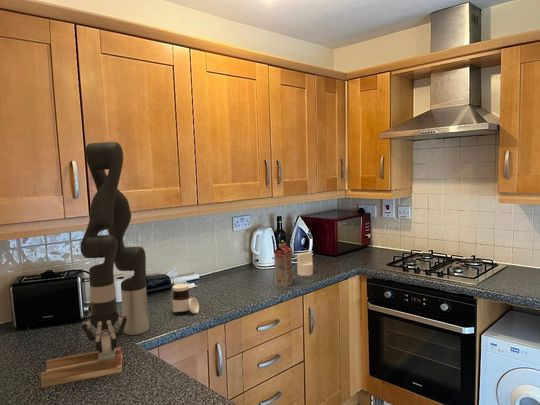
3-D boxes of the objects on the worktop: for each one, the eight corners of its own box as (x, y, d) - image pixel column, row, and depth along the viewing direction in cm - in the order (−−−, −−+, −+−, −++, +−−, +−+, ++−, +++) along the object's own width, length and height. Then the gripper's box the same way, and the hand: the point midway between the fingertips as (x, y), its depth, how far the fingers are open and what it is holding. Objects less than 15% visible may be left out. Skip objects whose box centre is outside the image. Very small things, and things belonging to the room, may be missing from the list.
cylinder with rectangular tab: (306, 270, 232) (306, 251, 231) (316, 274, 225) (315, 253, 224) (294, 273, 228) (293, 253, 227) (303, 276, 220) (302, 255, 219)
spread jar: (172, 308, 176) (171, 283, 175) (198, 305, 179) (196, 281, 178) (173, 318, 164) (171, 291, 163) (200, 315, 167) (198, 288, 166)
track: (48, 371, 123) (47, 357, 123) (122, 357, 131) (121, 344, 130) (41, 387, 114) (40, 373, 114) (121, 371, 121) (120, 358, 121)
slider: (99, 359, 126) (97, 332, 126) (116, 356, 128) (114, 329, 127) (98, 367, 121) (96, 339, 120) (115, 364, 123) (113, 337, 122)
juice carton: (275, 285, 206) (274, 244, 204) (282, 281, 211) (280, 242, 209) (286, 287, 202) (284, 245, 200) (292, 283, 208) (291, 243, 206)
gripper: (126, 291, 129) (130, 341, 130) (79, 297, 124) (83, 349, 125) (126, 298, 122) (130, 351, 123) (76, 305, 117) (81, 360, 118)
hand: (106, 350), depth 124 cm, fingers closed on slider, 3 cm apart
